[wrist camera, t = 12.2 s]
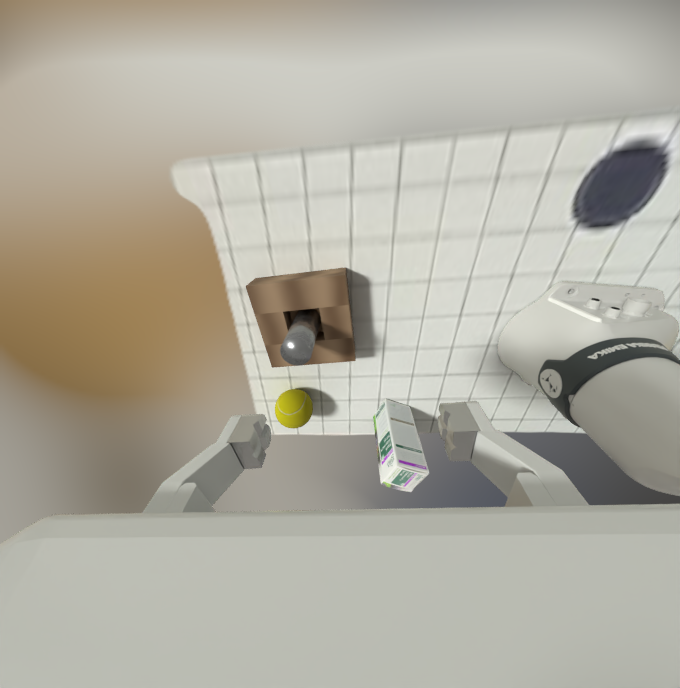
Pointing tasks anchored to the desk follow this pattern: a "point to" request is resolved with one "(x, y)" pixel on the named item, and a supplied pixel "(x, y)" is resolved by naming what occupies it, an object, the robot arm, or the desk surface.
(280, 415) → the tennis ball
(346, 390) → the desk surface
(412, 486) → the syrup box
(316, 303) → the socket block
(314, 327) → the pin
